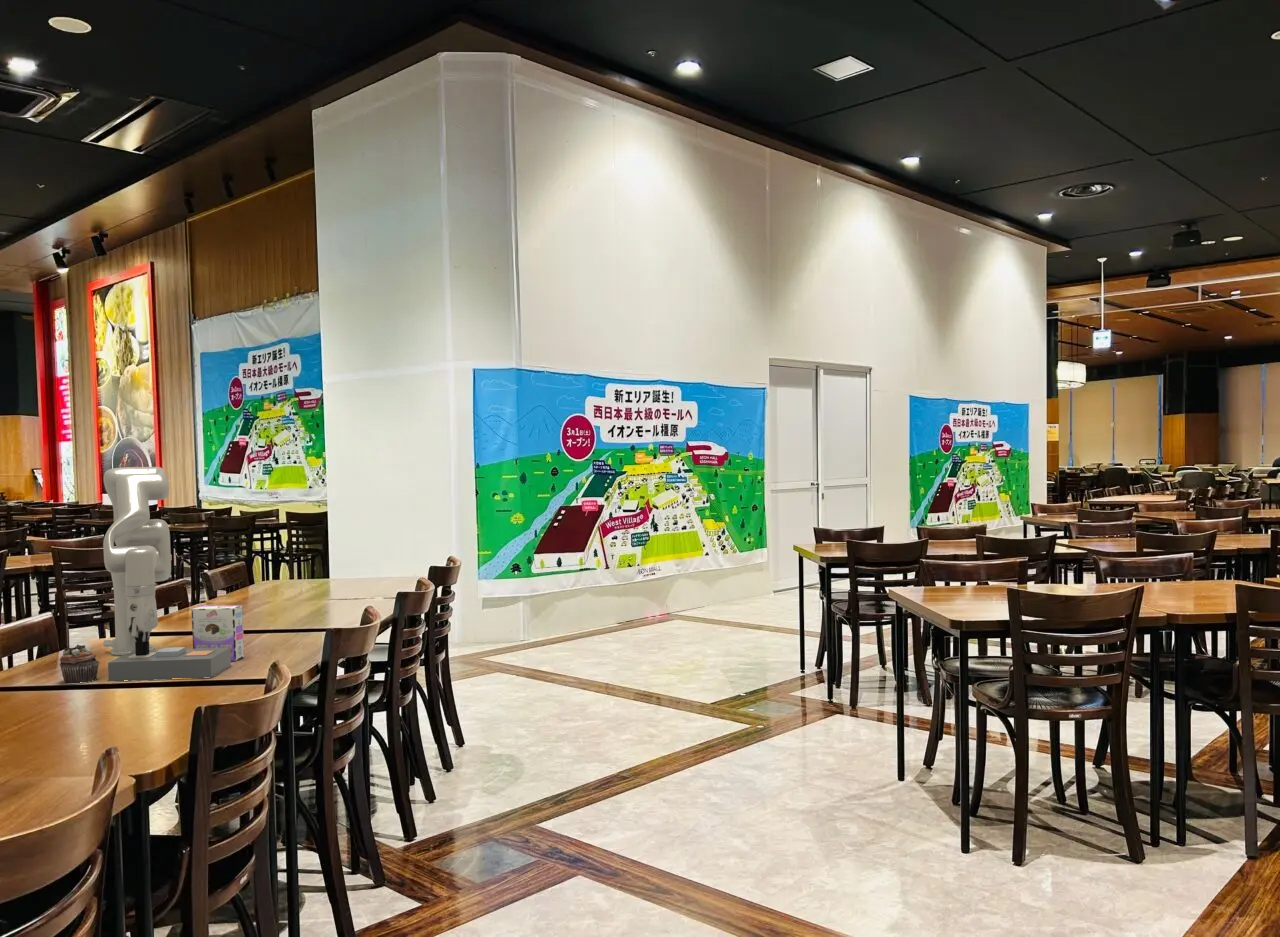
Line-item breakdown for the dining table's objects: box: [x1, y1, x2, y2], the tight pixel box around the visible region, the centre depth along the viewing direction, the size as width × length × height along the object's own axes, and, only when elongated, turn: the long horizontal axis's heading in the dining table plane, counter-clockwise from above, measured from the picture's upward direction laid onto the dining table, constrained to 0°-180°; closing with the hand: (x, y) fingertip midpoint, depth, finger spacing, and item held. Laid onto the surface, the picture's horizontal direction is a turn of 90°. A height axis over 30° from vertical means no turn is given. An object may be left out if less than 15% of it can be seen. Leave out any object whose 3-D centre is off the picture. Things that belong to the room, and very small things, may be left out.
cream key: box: [127, 652, 156, 658], centre depth 281 cm, size 6×6×4 cm
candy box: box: [190, 605, 245, 662], centre depth 300 cm, size 14×6×16 cm, turn 84°
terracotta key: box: [185, 651, 214, 656], centre depth 282 cm, size 6×6×4 cm
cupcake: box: [59, 644, 100, 684], centre depth 275 cm, size 10×10×10 cm
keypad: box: [107, 647, 232, 682], centre depth 281 cm, size 28×16×6 cm, turn 94°
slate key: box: [156, 646, 187, 657], centre depth 281 cm, size 6×6×4 cm
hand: (142, 654), depth 281 cm, fingers closed
